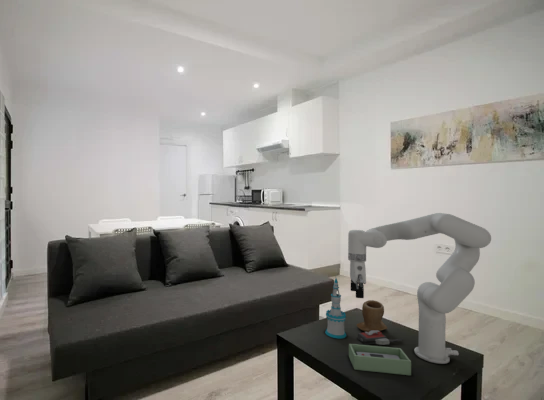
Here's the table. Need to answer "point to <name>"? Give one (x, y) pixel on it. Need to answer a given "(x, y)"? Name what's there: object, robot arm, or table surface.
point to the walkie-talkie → (375, 338)
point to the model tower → (335, 315)
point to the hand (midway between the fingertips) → (356, 294)
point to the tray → (379, 359)
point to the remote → (377, 355)
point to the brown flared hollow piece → (372, 316)
